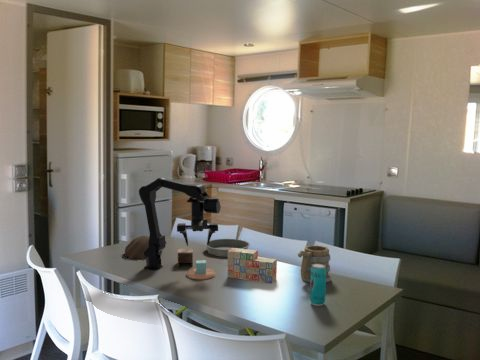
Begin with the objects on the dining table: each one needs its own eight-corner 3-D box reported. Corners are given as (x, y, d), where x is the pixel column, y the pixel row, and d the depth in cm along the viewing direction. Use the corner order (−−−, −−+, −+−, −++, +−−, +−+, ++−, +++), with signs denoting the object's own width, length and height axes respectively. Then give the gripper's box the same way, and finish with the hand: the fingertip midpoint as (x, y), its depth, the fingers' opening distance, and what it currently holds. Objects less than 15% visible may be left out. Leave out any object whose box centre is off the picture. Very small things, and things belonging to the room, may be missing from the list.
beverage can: (308, 301, 181) (309, 263, 180) (322, 300, 182) (324, 263, 180) (311, 306, 176) (312, 267, 174) (326, 306, 176) (328, 267, 175)
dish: (181, 276, 210) (181, 273, 210) (197, 269, 222) (197, 266, 222) (205, 281, 204) (205, 278, 204) (220, 273, 215) (220, 270, 215)
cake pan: (250, 258, 242) (250, 249, 242) (202, 257, 243) (202, 249, 242) (249, 246, 267) (250, 238, 266) (206, 245, 267) (206, 238, 267)
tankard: (313, 272, 218) (313, 241, 216) (336, 279, 209) (337, 246, 207) (285, 282, 204) (285, 248, 202) (308, 289, 195) (309, 254, 193)
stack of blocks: (276, 279, 208) (277, 252, 207) (272, 283, 202) (272, 255, 201) (232, 273, 216) (233, 247, 215) (227, 277, 211) (227, 250, 209)
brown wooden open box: (177, 266, 225) (177, 252, 225) (178, 262, 232) (177, 248, 232) (192, 266, 226) (192, 252, 225) (192, 262, 233) (192, 248, 232)
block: (196, 274, 210) (196, 263, 210) (196, 271, 215) (196, 260, 214) (206, 273, 211) (206, 263, 210) (205, 270, 215) (205, 260, 215)
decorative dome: (148, 247, 262) (148, 230, 261) (169, 254, 248) (169, 236, 247) (117, 253, 248) (116, 235, 247) (137, 261, 234) (137, 242, 233)
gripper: (176, 215, 206) (176, 250, 207) (218, 215, 207) (218, 249, 209) (177, 211, 217) (177, 244, 218) (217, 210, 218) (217, 243, 220)
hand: (197, 245), depth 216 cm, fingers open, 9 cm apart
